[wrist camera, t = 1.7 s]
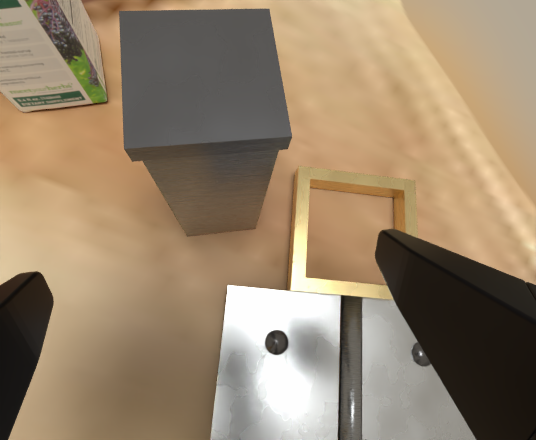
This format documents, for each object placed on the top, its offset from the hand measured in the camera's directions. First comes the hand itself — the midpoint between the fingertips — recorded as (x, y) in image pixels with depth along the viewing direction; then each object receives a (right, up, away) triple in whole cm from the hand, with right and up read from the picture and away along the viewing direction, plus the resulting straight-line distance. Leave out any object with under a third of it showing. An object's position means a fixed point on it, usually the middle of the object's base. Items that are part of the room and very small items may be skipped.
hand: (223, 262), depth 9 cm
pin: (-2, +2, +13) cm, 13 cm away
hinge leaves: (+6, -6, +11) cm, 14 cm away
